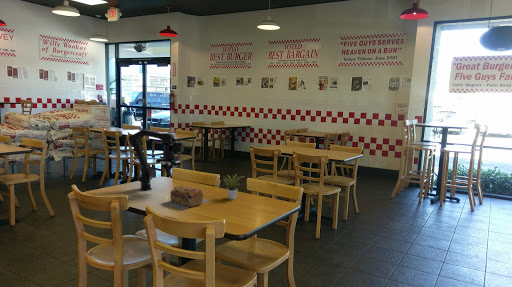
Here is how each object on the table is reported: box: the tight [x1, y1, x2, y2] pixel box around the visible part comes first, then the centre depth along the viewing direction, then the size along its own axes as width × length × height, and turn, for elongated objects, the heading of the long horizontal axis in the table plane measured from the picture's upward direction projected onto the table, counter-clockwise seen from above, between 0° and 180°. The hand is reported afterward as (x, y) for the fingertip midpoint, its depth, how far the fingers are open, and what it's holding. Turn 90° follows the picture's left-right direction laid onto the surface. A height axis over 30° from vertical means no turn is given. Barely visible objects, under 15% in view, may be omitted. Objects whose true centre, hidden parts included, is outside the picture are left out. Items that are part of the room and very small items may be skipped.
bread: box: [170, 185, 204, 208], centre depth 222 cm, size 19×11×10 cm, turn 53°
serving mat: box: [161, 198, 210, 211], centre depth 225 cm, size 18×24×1 cm
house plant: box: [222, 173, 245, 200], centre depth 237 cm, size 14×14×16 cm
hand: (168, 174), depth 247 cm, fingers closed
